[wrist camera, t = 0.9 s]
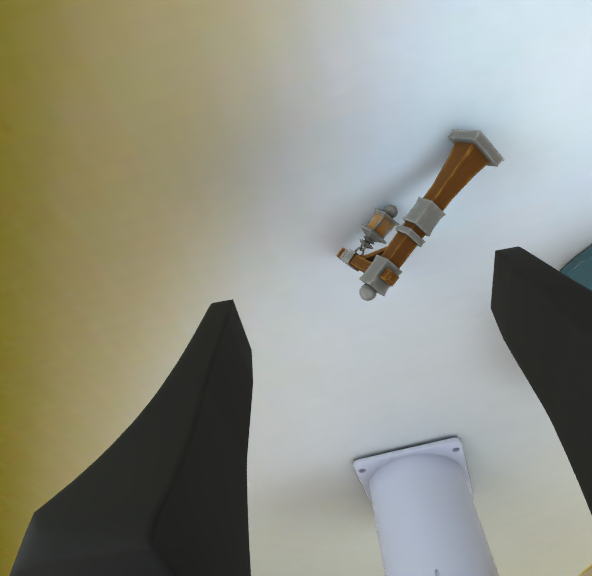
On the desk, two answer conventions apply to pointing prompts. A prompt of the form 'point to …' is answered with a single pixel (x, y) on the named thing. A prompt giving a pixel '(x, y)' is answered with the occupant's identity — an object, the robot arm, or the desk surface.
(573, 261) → the teal round bowl
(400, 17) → the desk surface
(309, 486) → the desk surface
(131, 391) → the desk surface
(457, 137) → the wooden post with brackets
